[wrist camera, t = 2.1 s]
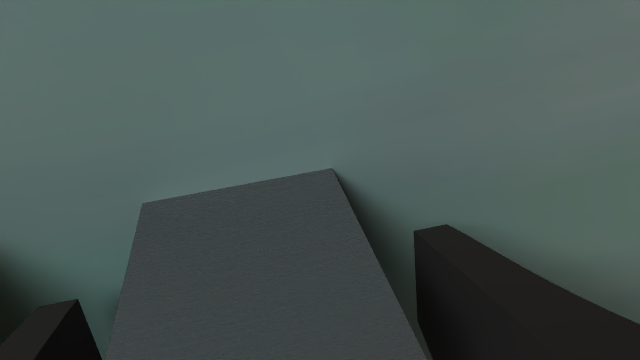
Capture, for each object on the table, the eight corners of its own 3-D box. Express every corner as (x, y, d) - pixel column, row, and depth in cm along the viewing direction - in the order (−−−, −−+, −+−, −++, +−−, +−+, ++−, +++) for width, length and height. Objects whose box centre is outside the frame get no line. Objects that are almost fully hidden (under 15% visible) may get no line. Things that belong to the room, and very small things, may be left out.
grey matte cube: (331, 167, 10) (427, 358, 6) (349, 312, 12) (433, 551, 7) (142, 202, 10) (86, 436, 5) (186, 348, 11) (171, 623, 7)
